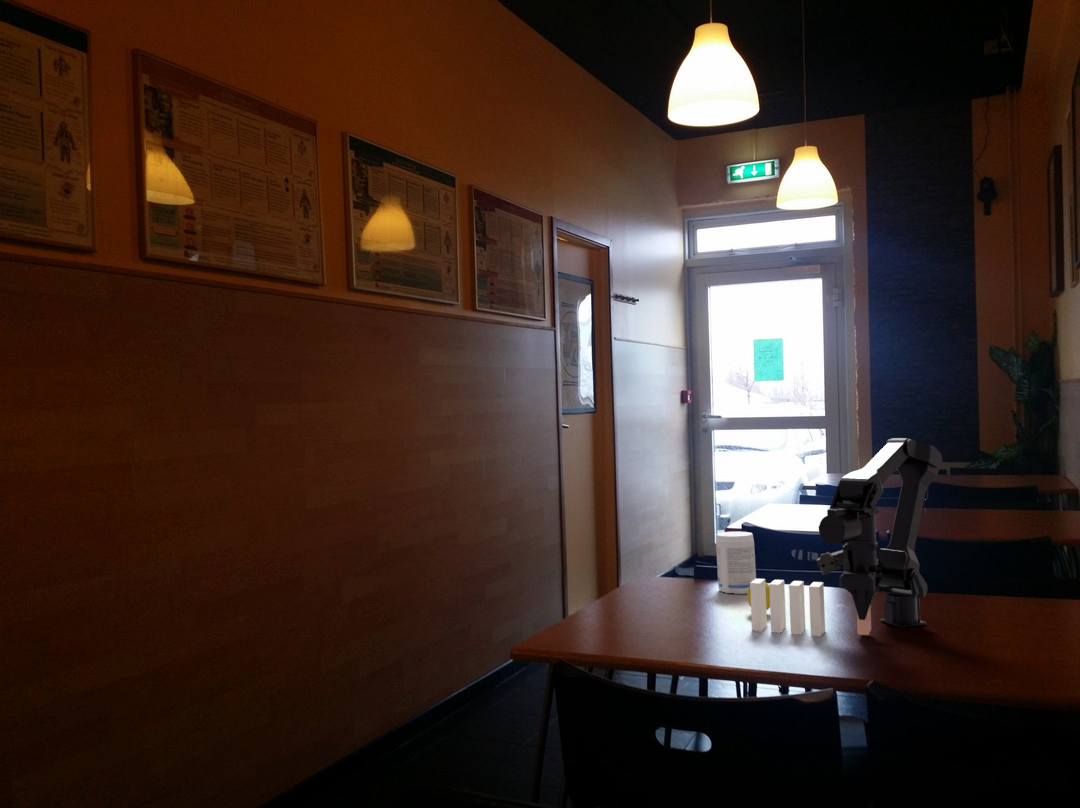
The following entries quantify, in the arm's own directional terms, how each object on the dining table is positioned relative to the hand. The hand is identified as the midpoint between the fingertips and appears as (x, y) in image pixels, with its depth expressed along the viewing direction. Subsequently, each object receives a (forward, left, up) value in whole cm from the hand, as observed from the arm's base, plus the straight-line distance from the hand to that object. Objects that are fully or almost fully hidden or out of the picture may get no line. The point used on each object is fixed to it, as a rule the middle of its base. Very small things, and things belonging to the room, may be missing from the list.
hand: (863, 616), depth 172 cm
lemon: (+8, -25, -4) cm, 27 cm away
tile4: (+12, -12, -4) cm, 17 cm away
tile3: (+9, -9, -4) cm, 14 cm away
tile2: (+6, -6, -4) cm, 10 cm away
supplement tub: (0, -49, -4) cm, 50 cm away
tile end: (+15, -15, -4) cm, 21 cm away
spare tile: (0, 0, -3) cm, 3 cm away
